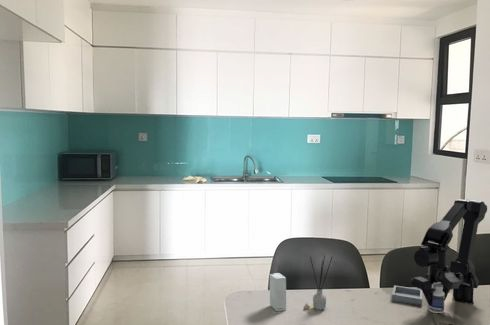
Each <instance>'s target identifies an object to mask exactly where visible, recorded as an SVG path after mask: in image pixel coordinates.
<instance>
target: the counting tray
mask: <svg viewBox="0 0 490 325" xmlns="http://www.w3.org/2000/svg"><path fill="white" fill-rule="evenodd" d="M391 301H392V302H398V303H402V304H403V303H404V304H410V305H416V306H420V307H422V305H423V292H422V290H421V289H419V288H416V287H415V288H414V287H406V286H400V285H395V284H394V285H393V288H392V293H391Z"/></svg>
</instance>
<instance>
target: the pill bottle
mask: <svg viewBox="0 0 490 325" xmlns="http://www.w3.org/2000/svg"><path fill="white" fill-rule="evenodd" d="M433 288H434V289H436V290H435V291H434V292H433V298H432V305H431V306H430V305H429V304H428V303H427V310H428V311H429V312H431V313H433V314H437V313H441V314H443V313H445V301H446V299H445V293H444V292H443V291H442V290H443V285H441V284H439V283H438V284H433Z"/></svg>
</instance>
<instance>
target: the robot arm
mask: <svg viewBox="0 0 490 325" xmlns="http://www.w3.org/2000/svg"><path fill="white" fill-rule="evenodd" d="M453 202H454V203H453V205H452V206H451V207H450V209H449V210H448V211H447V212H446V214H445V215H444V216H443V217H442V218H441V220H439V221H438V222H434V223H433V224H432V225H431V226H429V227H428V229H427V230H426V232H425V234H424V236H423V239H422V241H421V243H420V246H419V250H417V251H415V253H414V255H413V260H414V263H416V265H417V266H418V267H420V268H424V267H428V273H425V277H426V278H425V277H422V276H416V277H412V278H411V279H410V280H411V286H413V287H415V288H416V289H421V290H422V294H423V296H424V298H425V300H426V302H427V305H428V304H429V305H430V306H431V305H432V298H433V292H434V291H435V290H436V289H434V288H433V284H438V283H439V284H441V285H443V290H442V291H443V292H444V293H445V300H446V299H447V297H448V295H449V292H450V291H451V290H452V298H453V299H454V301H455V302H460V303H466V304H475V302H474V290H475V289H478V287H479V284H480V280H479V279H478V276H477V275H476V268H475V265H474V264H473V256H474V249H475V244H476V243H475V242H476V239H477V238H476V237H477V233H478V228H479V224H480V223H481V222H482V221H483V220H484V219H485V216H486V214H487V212H488V205H487V204H485V202H484V201H482V200H474V199H464V198H463V199H461V198H457V199H455V200H454V201H453ZM462 219H463V224H462V225H463V226H462V231H461V237H460V242H459V243H460V244H459V246H458V253H457V257H456V258H455V259H454V260H451V261H450V265H449V266H448V265H447V256H448V255H447V254H448V250H449V249H450V246H449V245H450V243H451V241H452V239H453V237H454V236H453V235H454V234H453V232H454V229H455V227H456V226H457V225H458V224H459V222H460V221H461V220H462Z"/></svg>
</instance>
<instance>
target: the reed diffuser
mask: <svg viewBox="0 0 490 325" xmlns="http://www.w3.org/2000/svg"><path fill="white" fill-rule="evenodd" d="M325 257H326V256H325V254H324V255H323V260H321V266H320V267H321V268H320V276H319V286H318V282H317V281H318V280H317V279H316V273H315V270H314V269H315V268H314V265H313V260H312V256H309V258H310V263H311V268H312V271H313V275H314V280H315V283H316V293H315V294H314V295H313V296H312V306H313V308H315V309H317V310H324V309H325V308H327V297H326V295H325V294H324V293H323V287H324V285H325V282H326V277H327V274H328V271H329V269H330V265H331V262H332V260H333V256H331V258H330V261H329V264H328V267H327V270H326V273H325V276H324V278H323V282H322V277H323V271H324V263H325ZM321 284H322V285H321ZM310 308H311V305H309V303H308V302H306V303H305V304H304V306H303V309H308V310H309V309H310Z"/></svg>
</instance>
